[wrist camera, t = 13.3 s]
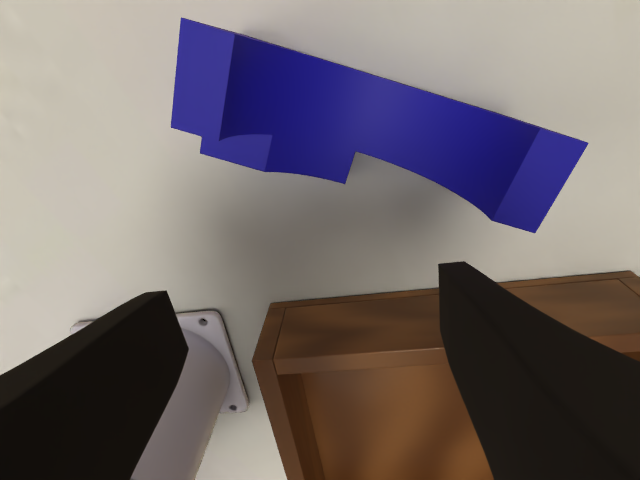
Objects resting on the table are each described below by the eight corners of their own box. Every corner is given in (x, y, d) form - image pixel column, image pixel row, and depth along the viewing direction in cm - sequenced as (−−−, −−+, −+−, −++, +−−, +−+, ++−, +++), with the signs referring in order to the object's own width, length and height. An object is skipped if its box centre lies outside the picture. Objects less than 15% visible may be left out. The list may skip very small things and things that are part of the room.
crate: (320, 501, 29) (315, 574, 25) (270, 302, 21) (251, 360, 17) (579, 496, 27) (621, 575, 23) (631, 270, 19) (711, 328, 15)
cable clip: (222, 139, 17) (166, 173, 12) (239, 33, 15) (181, 17, 10) (462, 209, 18) (512, 271, 13) (507, 116, 16) (588, 142, 11)
